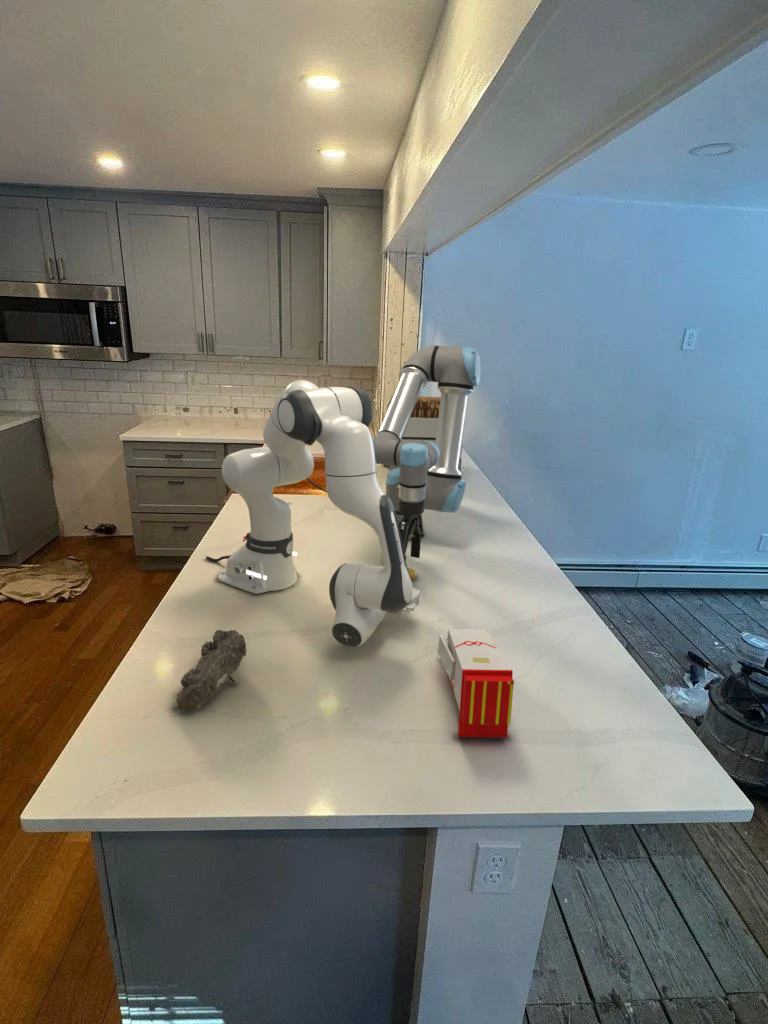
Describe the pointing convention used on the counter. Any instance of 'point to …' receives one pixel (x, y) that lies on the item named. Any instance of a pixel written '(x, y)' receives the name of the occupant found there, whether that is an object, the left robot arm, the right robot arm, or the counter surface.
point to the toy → (478, 682)
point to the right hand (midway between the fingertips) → (407, 566)
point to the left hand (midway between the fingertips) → (389, 580)
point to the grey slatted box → (423, 423)
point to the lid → (411, 573)
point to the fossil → (212, 669)
